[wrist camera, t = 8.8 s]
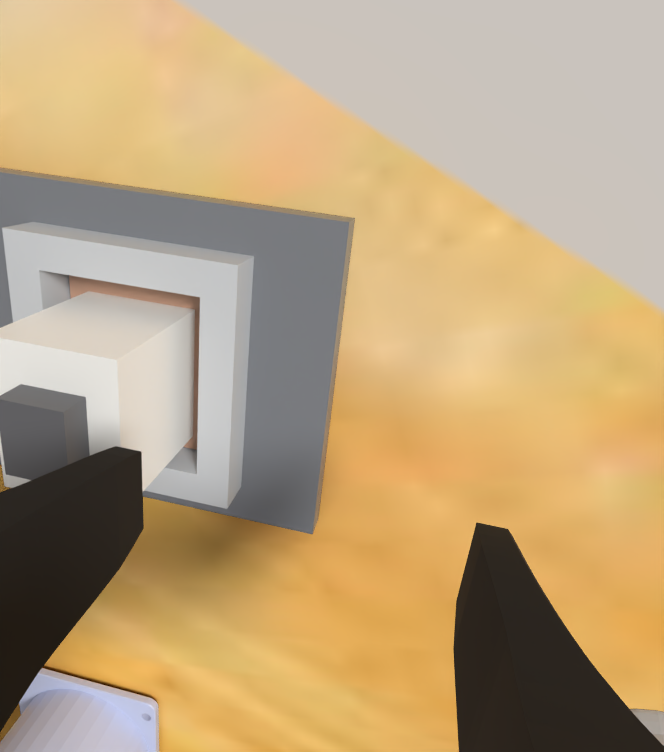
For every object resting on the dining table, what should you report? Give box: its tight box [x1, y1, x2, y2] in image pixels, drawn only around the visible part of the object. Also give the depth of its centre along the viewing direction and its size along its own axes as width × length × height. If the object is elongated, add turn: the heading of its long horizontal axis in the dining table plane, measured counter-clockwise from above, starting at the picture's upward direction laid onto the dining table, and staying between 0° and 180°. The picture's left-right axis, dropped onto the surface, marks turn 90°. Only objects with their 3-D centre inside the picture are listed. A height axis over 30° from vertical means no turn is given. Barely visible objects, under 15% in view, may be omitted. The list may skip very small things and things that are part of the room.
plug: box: [0, 291, 195, 491], centre depth 19 cm, size 5×4×6 cm
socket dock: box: [0, 168, 355, 534], centre depth 21 cm, size 12×14×2 cm
